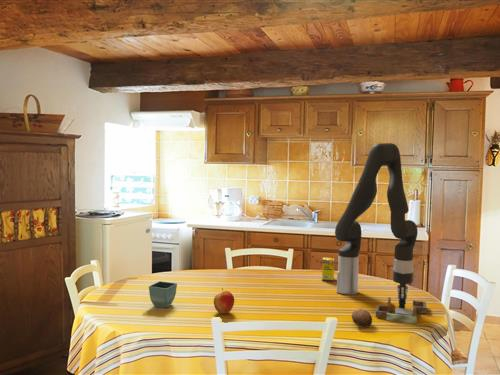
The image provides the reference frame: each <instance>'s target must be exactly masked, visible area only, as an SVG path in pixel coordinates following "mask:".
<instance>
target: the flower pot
mask: <svg viewBox="0 0 500 375" xmlns="http://www.w3.org/2000/svg"><path fill="white" fill-rule="evenodd" d="M177 285H178V284H177V282H168V281H162V280H161V281H157V282H155V283H153V284H150V285H149V286H148V292H149V293H148V294H149V298H150V301H151V303H152V305H153V306H154V307H155V308H162V309H165V308H168V307H169V306H171V305H172V304H173V302H174V300H175V297H176V294H177V289H178V288H177V287H178V286H177Z"/></svg>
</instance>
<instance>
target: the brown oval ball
mask: <svg viewBox="0 0 500 375" xmlns="http://www.w3.org/2000/svg"><path fill="white" fill-rule="evenodd" d="M351 319H352V322H353V323H354V324H355V325H357V326H358V327H359V328H362V329H363V328H364V329H366V328H369V327H371V325H372V324H373V317H372V315H371V314H370V312H369V311H367V310H366V309H365V308H356V309H355V310H353V311H352V313H351Z"/></svg>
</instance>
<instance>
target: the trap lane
mask: <svg viewBox="0 0 500 375" xmlns="http://www.w3.org/2000/svg"><path fill="white" fill-rule="evenodd" d="M391 298H392V297H387V305H382V304H377V305H376V310H375V318H376V317H377V318H376V319H383V318H384V320H386V321H392V322H396V323H397V322H398V323H399V322H400V323H406V324H407V323H408V324H413V325H415V324H417V323H418V314H422V315H427V307H428V306H427V303H426V302H427V301H423V300H421V301H420V300H416V299H413V300H412V308H413V309H412V316H408V315H399V314H395V313H391V312H390V311H391V305H390V304H391V301H392V299H391Z"/></svg>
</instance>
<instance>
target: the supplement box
mask: <svg viewBox="0 0 500 375" xmlns="http://www.w3.org/2000/svg"><path fill="white" fill-rule="evenodd" d="M321 266H322V267H321V273H322V274H321V281H322V282H334V281H335V280H334V279H335V258H333V257H322V265H321Z"/></svg>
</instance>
